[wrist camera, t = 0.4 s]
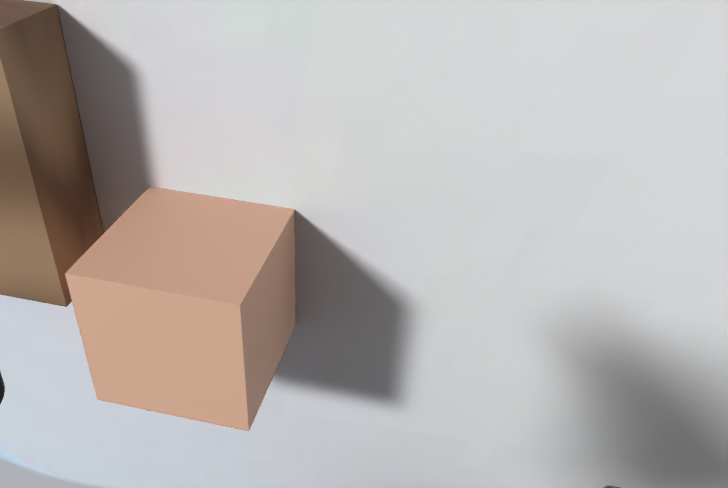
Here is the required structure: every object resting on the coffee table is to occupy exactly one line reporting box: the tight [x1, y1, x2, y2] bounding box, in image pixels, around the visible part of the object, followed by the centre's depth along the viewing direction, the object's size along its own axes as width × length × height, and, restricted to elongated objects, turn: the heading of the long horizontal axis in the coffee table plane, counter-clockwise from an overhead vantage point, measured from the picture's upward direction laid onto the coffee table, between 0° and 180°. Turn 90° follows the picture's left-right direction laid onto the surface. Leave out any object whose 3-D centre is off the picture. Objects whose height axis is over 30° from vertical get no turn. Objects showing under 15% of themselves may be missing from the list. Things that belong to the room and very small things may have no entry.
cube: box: [65, 187, 296, 431], centre depth 23 cm, size 6×6×6 cm
